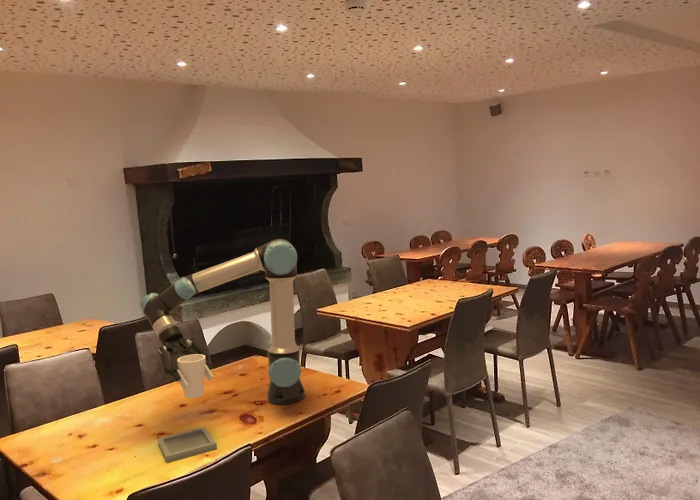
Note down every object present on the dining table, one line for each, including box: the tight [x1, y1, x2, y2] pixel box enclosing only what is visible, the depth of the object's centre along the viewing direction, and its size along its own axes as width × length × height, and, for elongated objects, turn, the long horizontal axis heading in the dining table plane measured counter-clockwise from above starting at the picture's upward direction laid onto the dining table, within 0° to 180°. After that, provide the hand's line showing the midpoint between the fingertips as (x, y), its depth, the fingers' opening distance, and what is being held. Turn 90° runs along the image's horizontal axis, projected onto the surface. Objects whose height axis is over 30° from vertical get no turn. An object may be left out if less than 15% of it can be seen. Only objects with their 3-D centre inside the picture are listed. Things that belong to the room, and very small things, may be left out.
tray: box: [157, 426, 218, 464], centre depth 191 cm, size 16×16×2 cm
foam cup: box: [176, 354, 207, 399], centre depth 196 cm, size 10×9×13 cm
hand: (198, 382), depth 194 cm, fingers closed on foam cup, 9 cm apart
